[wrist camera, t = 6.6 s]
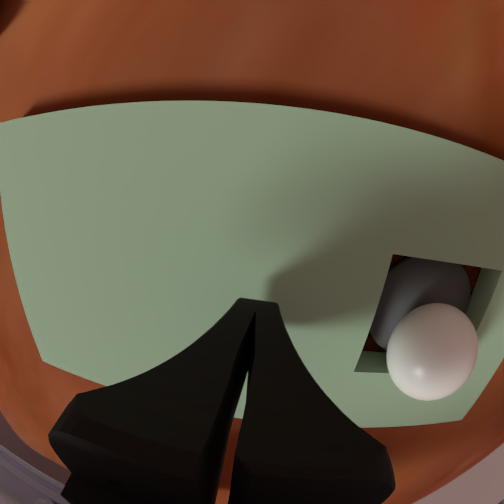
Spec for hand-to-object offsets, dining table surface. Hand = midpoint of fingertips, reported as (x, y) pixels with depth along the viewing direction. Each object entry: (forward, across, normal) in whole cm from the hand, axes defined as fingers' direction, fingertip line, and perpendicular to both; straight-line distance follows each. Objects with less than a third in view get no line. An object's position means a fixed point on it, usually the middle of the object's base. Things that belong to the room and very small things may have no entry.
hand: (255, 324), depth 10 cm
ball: (0, -7, +1) cm, 7 cm away
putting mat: (+2, 0, 0) cm, 3 cm away
